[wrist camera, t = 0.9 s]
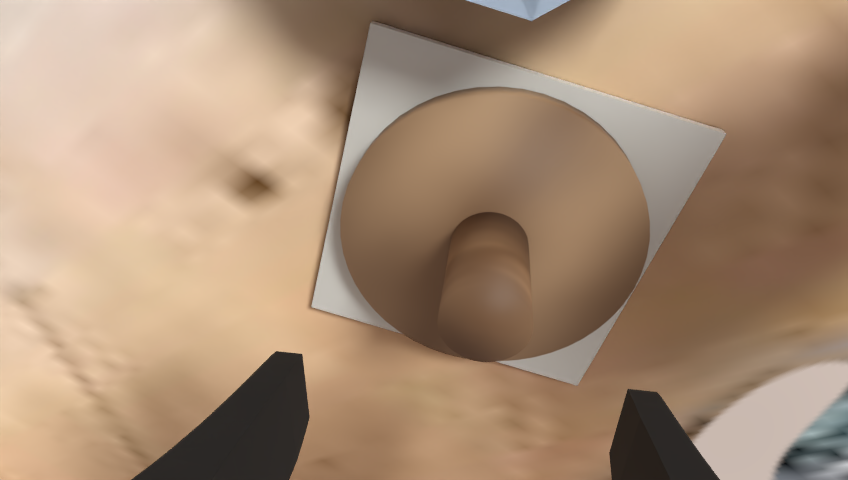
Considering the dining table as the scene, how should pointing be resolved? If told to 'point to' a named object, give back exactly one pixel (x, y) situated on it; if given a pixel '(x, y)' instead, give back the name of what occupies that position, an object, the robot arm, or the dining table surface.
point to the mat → (461, 69)
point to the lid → (495, 224)
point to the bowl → (522, 7)
